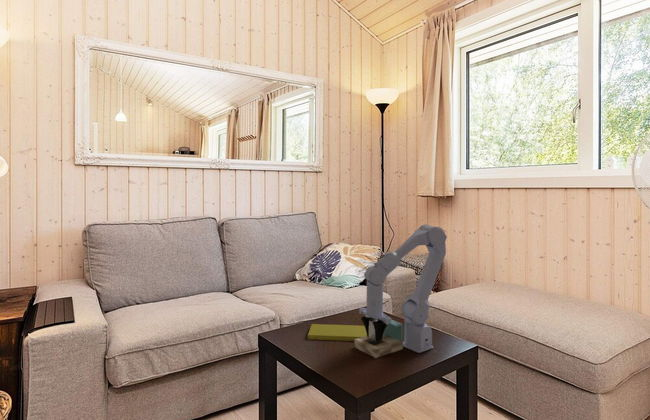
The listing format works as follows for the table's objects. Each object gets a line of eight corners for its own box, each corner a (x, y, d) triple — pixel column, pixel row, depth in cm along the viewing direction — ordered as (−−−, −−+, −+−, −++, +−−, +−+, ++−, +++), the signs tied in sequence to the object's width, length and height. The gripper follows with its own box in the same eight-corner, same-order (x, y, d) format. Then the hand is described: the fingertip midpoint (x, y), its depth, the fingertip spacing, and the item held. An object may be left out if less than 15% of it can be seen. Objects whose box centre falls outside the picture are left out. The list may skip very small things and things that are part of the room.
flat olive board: (307, 340, 151) (371, 343, 148) (307, 334, 150) (371, 337, 148) (311, 329, 163) (371, 331, 160) (311, 324, 163) (371, 326, 160)
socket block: (402, 349, 141) (402, 340, 141) (375, 358, 134) (375, 349, 134) (381, 339, 150) (381, 331, 150) (354, 347, 143) (354, 339, 143)
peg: (382, 346, 140) (382, 321, 140) (373, 348, 138) (374, 323, 137) (374, 342, 143) (374, 318, 143) (366, 345, 141) (366, 320, 141)
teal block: (402, 340, 141) (403, 323, 141) (395, 342, 139) (396, 325, 139) (381, 331, 150) (381, 315, 150) (374, 333, 148) (374, 317, 148)
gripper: (352, 297, 143) (352, 334, 144) (380, 307, 132) (380, 348, 132) (367, 294, 148) (367, 330, 148) (395, 304, 136) (395, 343, 136)
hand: (374, 338), depth 141 cm, fingers closed on peg, 4 cm apart
